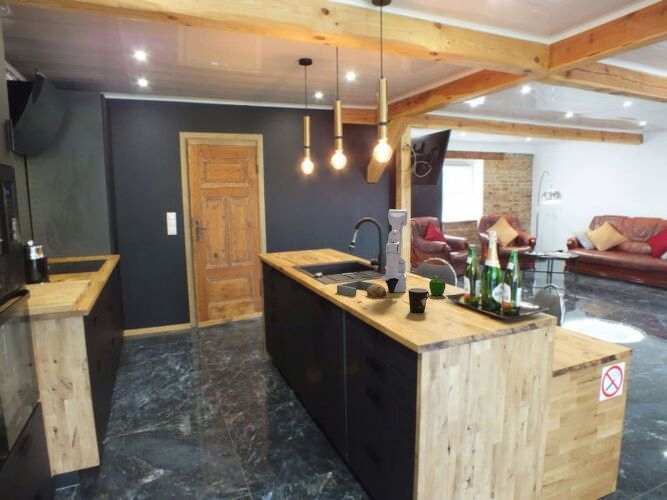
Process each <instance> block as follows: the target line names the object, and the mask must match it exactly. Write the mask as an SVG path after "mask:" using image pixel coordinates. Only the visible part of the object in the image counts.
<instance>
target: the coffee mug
mask: <svg viewBox="0 0 667 500" xmlns="http://www.w3.org/2000/svg"><path fill="white" fill-rule="evenodd" d="M407 291H408V302H409V303H408V304H409V312H410V313H411V314H415V313H423V314H425V313H426V312H425V311H426V306H427V300H428V299H429V296H430V293H429V290H428V289H427V288H423V287H422V288H421V287H410V288H408V289H407Z"/></svg>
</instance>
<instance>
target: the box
mask: <svg viewBox="0 0 667 500" xmlns="http://www.w3.org/2000/svg"><path fill="white" fill-rule="evenodd" d="M374 284H377V282H376V283H375V282H370V281H365V280H354V281H350V282H346V283H340V284H336V293H337V294H341V295H346V296H351V297H357V289H362V290H367V289H368V287H369V286H371V285H374Z"/></svg>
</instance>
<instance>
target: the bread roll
mask: <svg viewBox="0 0 667 500" xmlns="http://www.w3.org/2000/svg"><path fill="white" fill-rule="evenodd" d="M366 295H367V297H368V298H374V299H383V298H385V297H386V296H387V290H386V287H384V286H383V285H381V284H379V283H376V284H374V285H371V286H369V287H368V289H366Z"/></svg>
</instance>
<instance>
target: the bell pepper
mask: <svg viewBox="0 0 667 500" xmlns="http://www.w3.org/2000/svg"><path fill="white" fill-rule="evenodd" d="M434 277H435V278H436V279H433V278H432V279H430V280H429V284H428V285H429V287H428V288H429V291H430V294H431V296H434V295H435V297H436V296H437V297H439V295H441V296H443V295H444V294H445V291H446V282H445V280H444V279H439V277H438V275H434Z"/></svg>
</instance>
